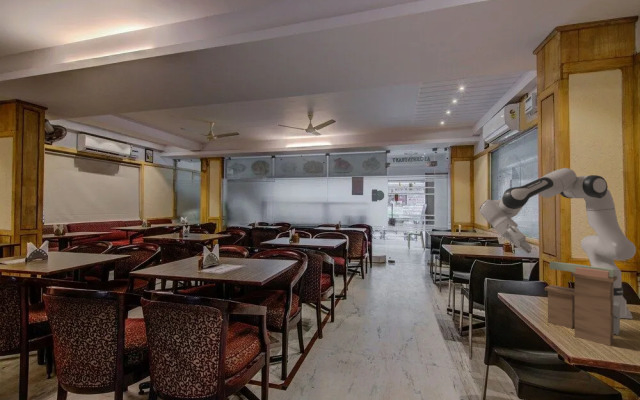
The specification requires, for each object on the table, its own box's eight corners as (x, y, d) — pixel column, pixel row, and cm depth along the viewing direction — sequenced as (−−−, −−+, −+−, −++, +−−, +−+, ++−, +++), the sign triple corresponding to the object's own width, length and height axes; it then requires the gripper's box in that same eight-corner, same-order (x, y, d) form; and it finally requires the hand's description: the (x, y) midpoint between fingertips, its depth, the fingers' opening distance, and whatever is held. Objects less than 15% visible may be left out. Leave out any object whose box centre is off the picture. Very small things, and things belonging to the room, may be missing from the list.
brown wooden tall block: (576, 331, 138) (576, 270, 138) (617, 341, 128) (617, 276, 128) (570, 336, 132) (571, 273, 133) (613, 347, 122) (613, 279, 123)
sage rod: (551, 268, 144) (551, 261, 144) (614, 276, 127) (614, 269, 127) (549, 268, 142) (549, 262, 142) (613, 277, 126) (613, 269, 126)
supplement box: (596, 330, 139) (596, 301, 139) (597, 326, 144) (597, 298, 144) (619, 335, 134) (619, 305, 134) (620, 331, 139) (620, 301, 139)
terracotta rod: (577, 273, 133) (577, 267, 133) (609, 277, 125) (609, 271, 126) (575, 273, 132) (575, 267, 132) (607, 278, 124) (608, 271, 124)
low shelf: (550, 318, 154) (550, 284, 154) (579, 325, 145) (579, 289, 145) (544, 322, 148) (544, 287, 148) (574, 329, 139) (574, 292, 140)
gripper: (512, 219, 145) (537, 243, 138) (512, 228, 162) (535, 250, 154) (500, 227, 146) (524, 252, 139) (502, 236, 163) (523, 258, 156)
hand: (530, 251), depth 147 cm, fingers open, 8 cm apart
